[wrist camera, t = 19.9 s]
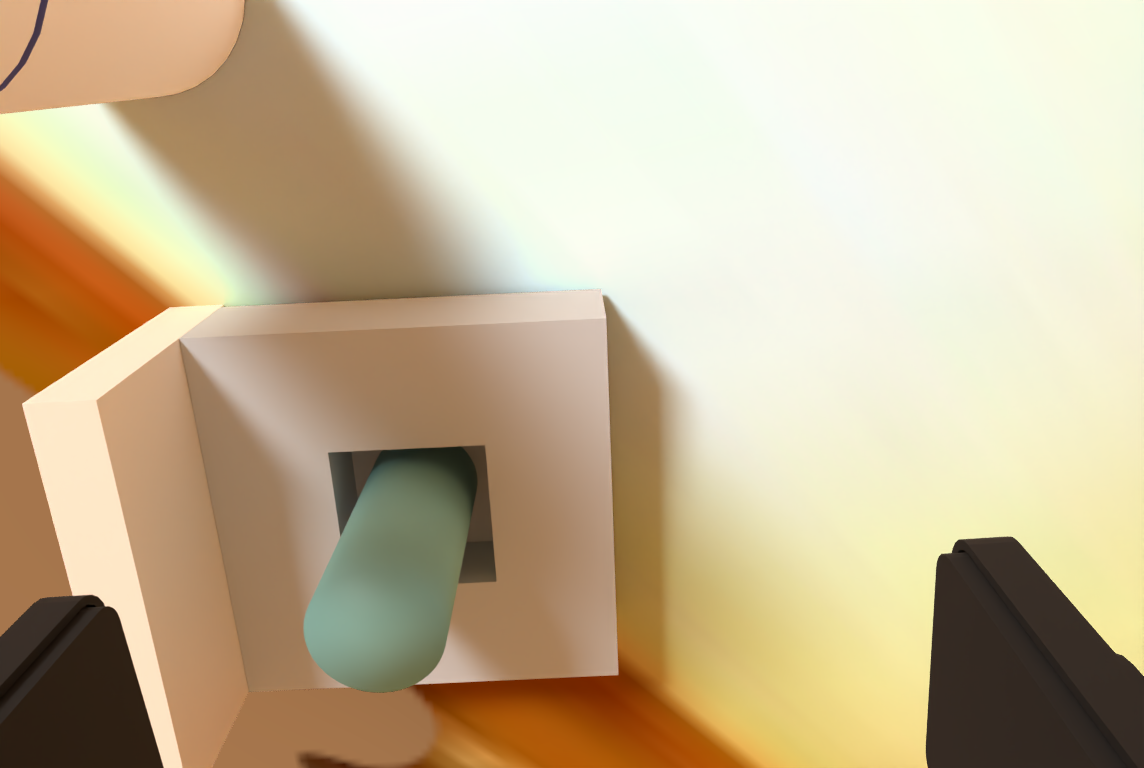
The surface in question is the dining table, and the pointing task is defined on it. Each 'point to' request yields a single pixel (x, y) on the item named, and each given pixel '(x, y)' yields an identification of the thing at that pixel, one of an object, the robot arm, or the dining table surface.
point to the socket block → (406, 421)
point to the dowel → (395, 572)
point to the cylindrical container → (110, 49)
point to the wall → (146, 528)
